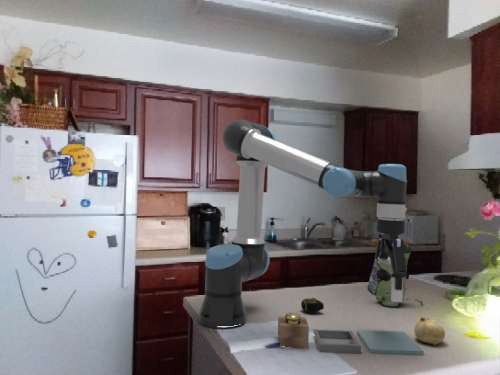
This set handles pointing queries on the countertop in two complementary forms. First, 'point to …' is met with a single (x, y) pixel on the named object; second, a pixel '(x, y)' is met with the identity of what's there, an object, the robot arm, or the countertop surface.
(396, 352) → the light blue square tile
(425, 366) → the countertop surface
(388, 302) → the pouch
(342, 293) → the countertop surface
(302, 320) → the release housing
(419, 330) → the onion
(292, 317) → the plunger
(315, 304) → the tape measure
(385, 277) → the beverage can
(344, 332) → the socket collar
